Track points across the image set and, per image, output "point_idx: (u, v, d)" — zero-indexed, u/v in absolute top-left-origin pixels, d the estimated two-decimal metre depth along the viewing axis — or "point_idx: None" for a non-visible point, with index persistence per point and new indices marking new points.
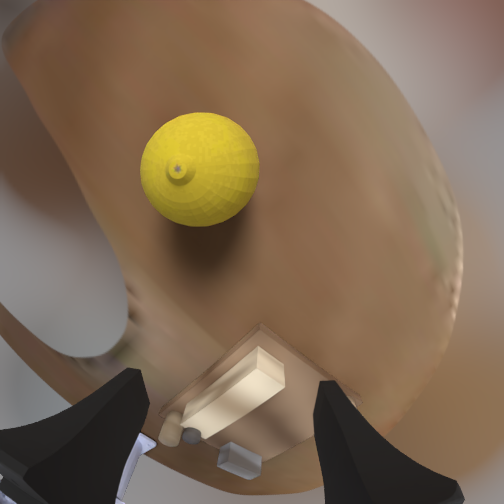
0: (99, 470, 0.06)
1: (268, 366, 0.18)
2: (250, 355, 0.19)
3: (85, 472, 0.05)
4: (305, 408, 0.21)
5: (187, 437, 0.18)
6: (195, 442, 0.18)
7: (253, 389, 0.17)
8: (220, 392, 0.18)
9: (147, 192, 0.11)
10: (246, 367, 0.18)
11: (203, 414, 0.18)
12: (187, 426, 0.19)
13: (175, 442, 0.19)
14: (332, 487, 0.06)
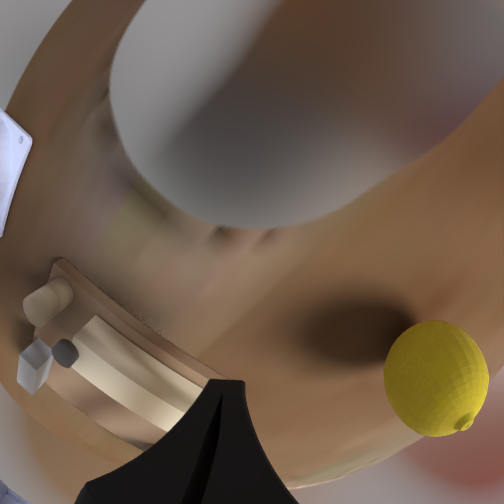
0: None
1: None
2: None
3: (198, 503, 0.05)
4: (141, 426, 0.17)
5: (61, 353, 0.12)
6: (59, 361, 0.12)
7: None
8: (158, 390, 0.13)
9: (455, 386, 0.09)
10: None
11: (112, 372, 0.13)
12: (76, 345, 0.12)
13: (36, 322, 0.12)
14: None
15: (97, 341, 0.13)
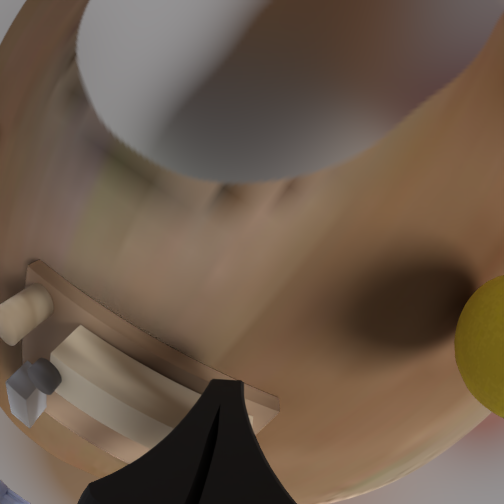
0: None
1: None
2: None
3: None
4: None
5: (38, 376, 0.08)
6: (38, 387, 0.08)
7: None
8: (167, 416, 0.09)
9: None
10: None
11: (104, 396, 0.09)
12: (56, 365, 0.09)
13: (9, 340, 0.08)
14: None
15: (81, 358, 0.09)
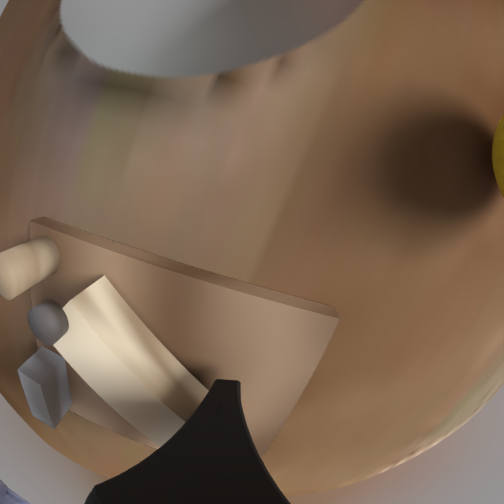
0: None
1: None
2: None
3: None
4: None
5: (43, 322, 0.07)
6: (35, 332, 0.07)
7: None
8: (176, 403, 0.09)
9: None
10: None
11: (116, 367, 0.08)
12: (68, 315, 0.08)
13: (9, 292, 0.08)
14: None
15: (101, 316, 0.09)
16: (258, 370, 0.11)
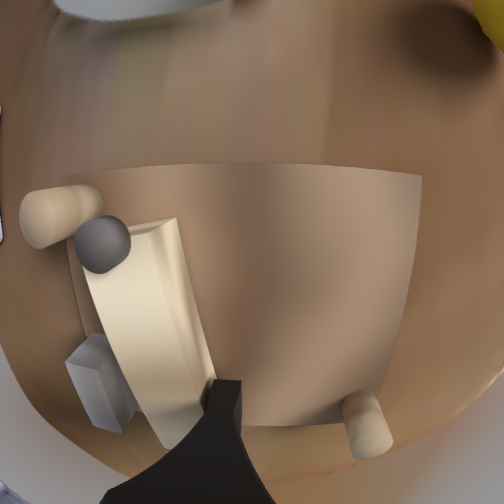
0: None
1: None
2: None
3: None
4: (314, 373, 0.11)
5: (103, 243, 0.06)
6: (80, 248, 0.06)
7: (183, 429, 0.09)
8: (197, 381, 0.09)
9: None
10: None
11: (161, 326, 0.08)
12: (134, 248, 0.07)
13: (45, 235, 0.07)
14: None
15: (167, 263, 0.08)
16: (361, 260, 0.10)
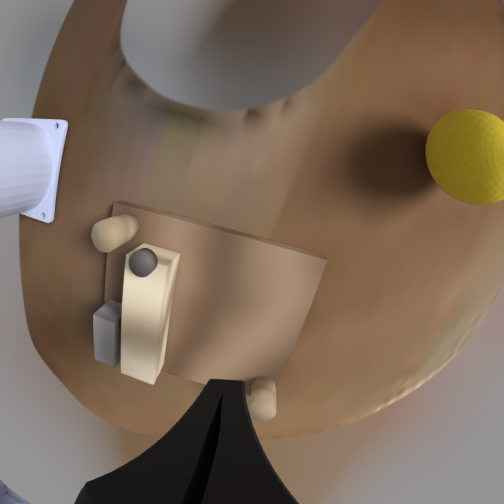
0: None
1: None
2: (162, 360, 0.19)
3: (198, 503, 0.05)
4: (238, 355, 0.19)
5: (145, 265, 0.14)
6: (132, 261, 0.14)
7: (139, 363, 0.17)
8: (159, 340, 0.17)
9: (481, 127, 0.09)
10: (158, 365, 0.18)
11: (154, 307, 0.16)
12: (157, 269, 0.15)
13: (108, 246, 0.14)
14: None
15: (168, 279, 0.16)
16: (276, 298, 0.18)
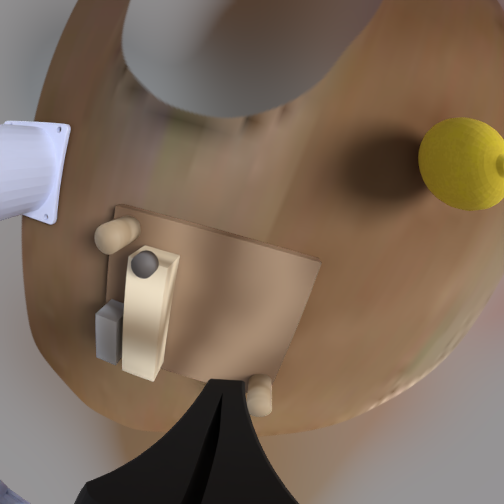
0: None
1: None
2: (162, 357, 0.20)
3: (198, 502, 0.05)
4: (235, 353, 0.20)
5: (147, 267, 0.15)
6: (134, 263, 0.15)
7: (140, 361, 0.18)
8: (159, 338, 0.17)
9: (472, 136, 0.10)
10: (158, 363, 0.19)
11: (155, 307, 0.16)
12: (158, 271, 0.16)
13: (111, 248, 0.15)
14: None
15: (169, 280, 0.17)
16: (272, 299, 0.19)
